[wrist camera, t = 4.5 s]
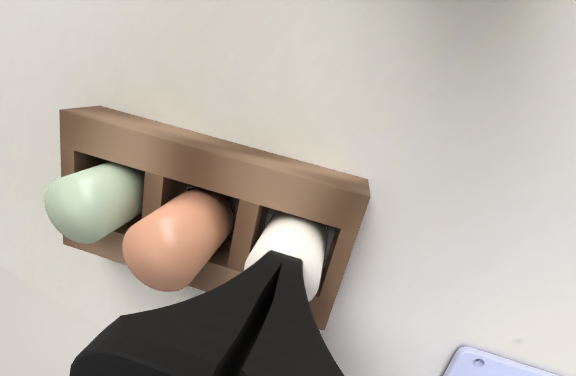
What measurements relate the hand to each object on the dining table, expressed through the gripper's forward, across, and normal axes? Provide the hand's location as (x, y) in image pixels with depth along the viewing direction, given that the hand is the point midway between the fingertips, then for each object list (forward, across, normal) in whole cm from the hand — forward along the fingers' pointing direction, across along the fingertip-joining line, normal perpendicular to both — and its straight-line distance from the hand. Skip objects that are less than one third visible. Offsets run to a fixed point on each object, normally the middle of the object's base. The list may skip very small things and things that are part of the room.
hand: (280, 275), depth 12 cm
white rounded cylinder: (+4, 0, 0) cm, 4 cm away
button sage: (+4, +9, 0) cm, 10 cm away
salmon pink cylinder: (+3, +5, 0) cm, 5 cm away
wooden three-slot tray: (+4, +4, 0) cm, 6 cm away
